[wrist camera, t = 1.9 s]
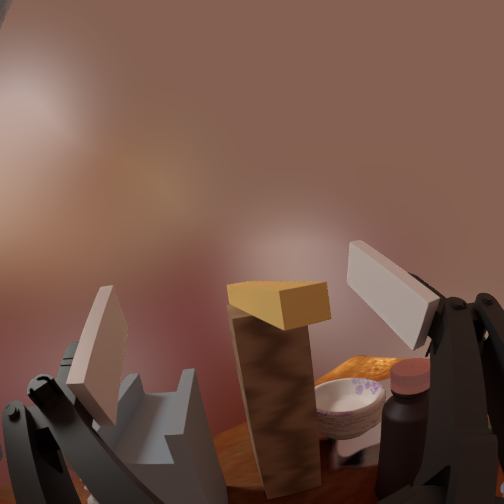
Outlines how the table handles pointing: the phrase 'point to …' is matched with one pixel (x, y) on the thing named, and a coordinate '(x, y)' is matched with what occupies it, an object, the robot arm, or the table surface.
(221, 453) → the table surface
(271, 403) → the walnut pedestal
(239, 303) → the ochre bar
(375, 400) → the paper bowls
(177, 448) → the grey u cradle
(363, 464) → the table surface
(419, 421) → the bottle
